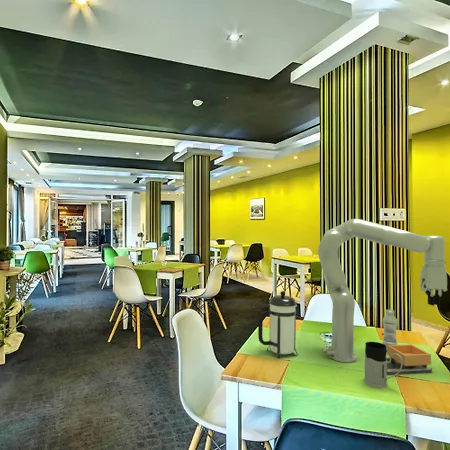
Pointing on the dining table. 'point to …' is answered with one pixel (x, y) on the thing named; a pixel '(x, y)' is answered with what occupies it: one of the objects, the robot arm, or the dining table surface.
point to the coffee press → (280, 325)
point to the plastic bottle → (389, 328)
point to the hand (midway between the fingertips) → (433, 304)
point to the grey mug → (377, 365)
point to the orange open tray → (409, 355)
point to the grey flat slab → (395, 367)
